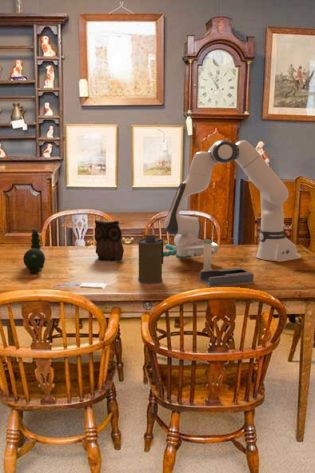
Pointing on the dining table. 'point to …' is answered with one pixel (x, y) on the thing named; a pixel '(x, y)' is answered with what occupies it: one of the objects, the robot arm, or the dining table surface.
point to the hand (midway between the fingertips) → (204, 253)
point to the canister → (150, 259)
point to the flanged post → (207, 255)
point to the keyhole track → (226, 277)
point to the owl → (108, 241)
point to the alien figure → (171, 251)
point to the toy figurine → (34, 254)
